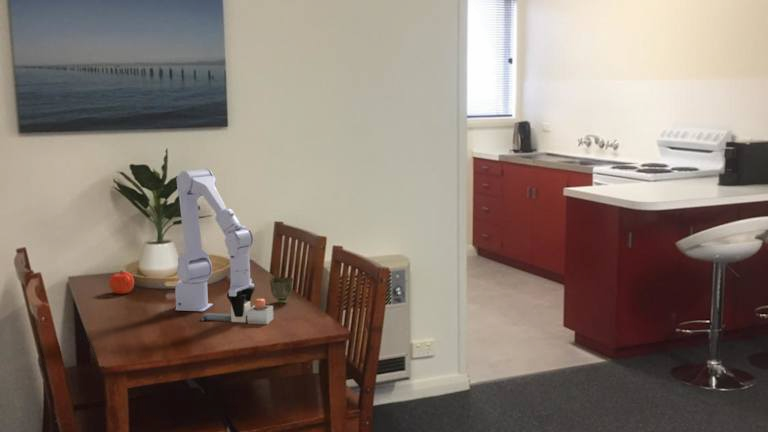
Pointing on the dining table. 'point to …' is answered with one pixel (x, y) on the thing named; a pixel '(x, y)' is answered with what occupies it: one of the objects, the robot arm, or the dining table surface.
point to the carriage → (243, 318)
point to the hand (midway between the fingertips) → (241, 314)
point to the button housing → (260, 315)
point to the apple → (121, 283)
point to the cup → (281, 289)
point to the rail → (216, 317)
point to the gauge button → (259, 303)
